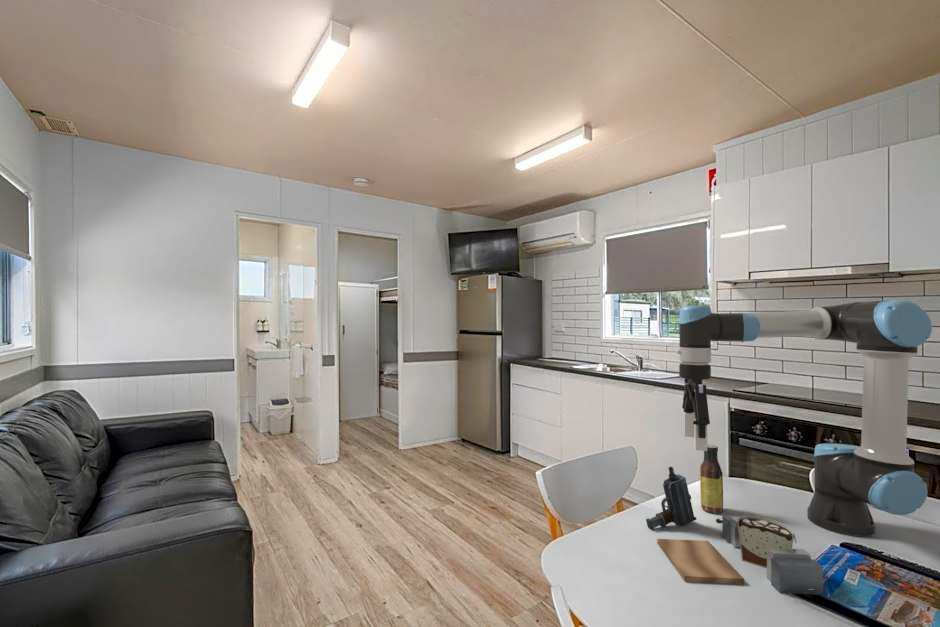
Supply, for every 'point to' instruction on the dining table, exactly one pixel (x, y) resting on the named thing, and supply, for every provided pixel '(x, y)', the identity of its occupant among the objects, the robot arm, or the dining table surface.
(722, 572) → the light brown board
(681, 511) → the gun
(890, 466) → the robot arm
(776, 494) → the dining table surface
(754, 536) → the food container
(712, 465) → the sauce bottle
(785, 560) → the grey blocks
